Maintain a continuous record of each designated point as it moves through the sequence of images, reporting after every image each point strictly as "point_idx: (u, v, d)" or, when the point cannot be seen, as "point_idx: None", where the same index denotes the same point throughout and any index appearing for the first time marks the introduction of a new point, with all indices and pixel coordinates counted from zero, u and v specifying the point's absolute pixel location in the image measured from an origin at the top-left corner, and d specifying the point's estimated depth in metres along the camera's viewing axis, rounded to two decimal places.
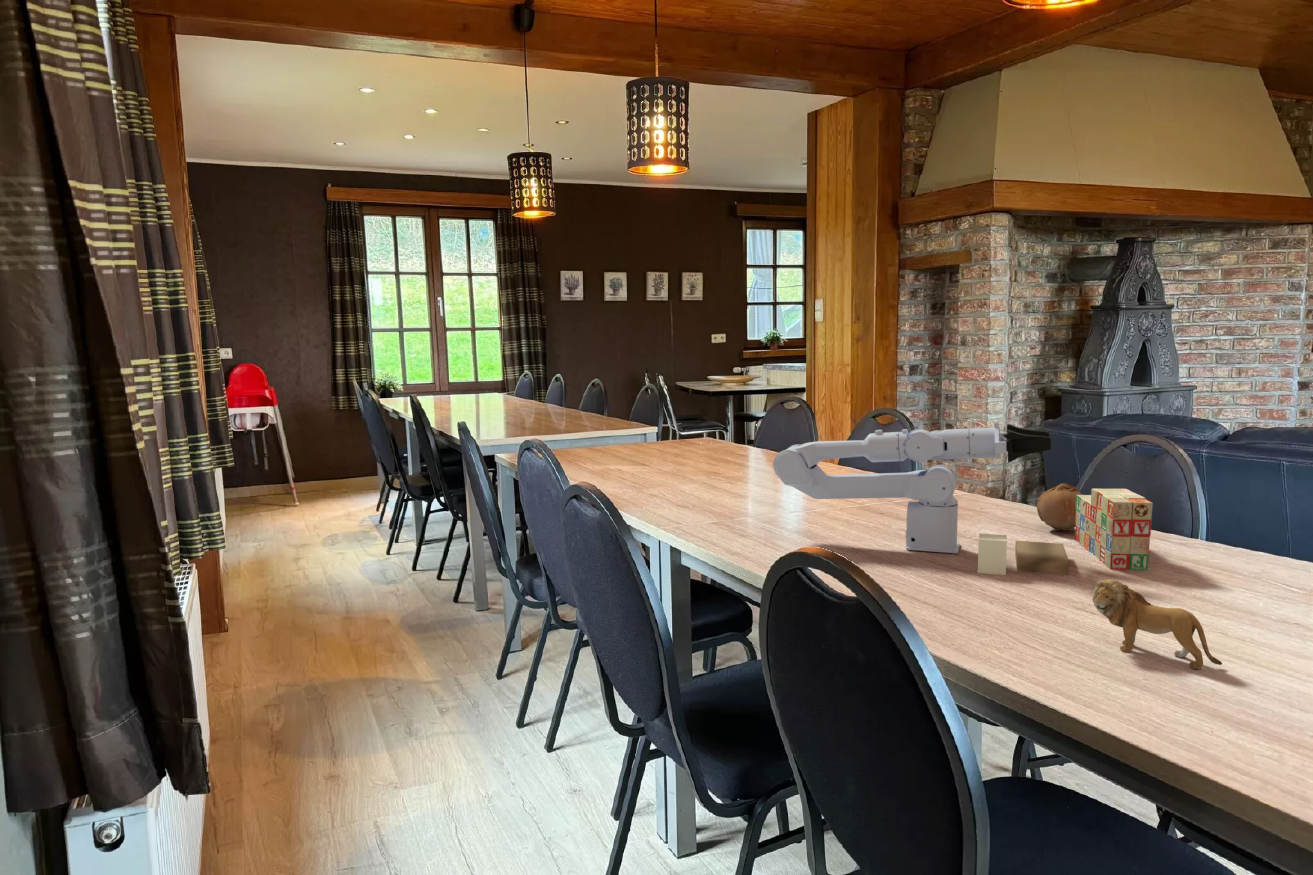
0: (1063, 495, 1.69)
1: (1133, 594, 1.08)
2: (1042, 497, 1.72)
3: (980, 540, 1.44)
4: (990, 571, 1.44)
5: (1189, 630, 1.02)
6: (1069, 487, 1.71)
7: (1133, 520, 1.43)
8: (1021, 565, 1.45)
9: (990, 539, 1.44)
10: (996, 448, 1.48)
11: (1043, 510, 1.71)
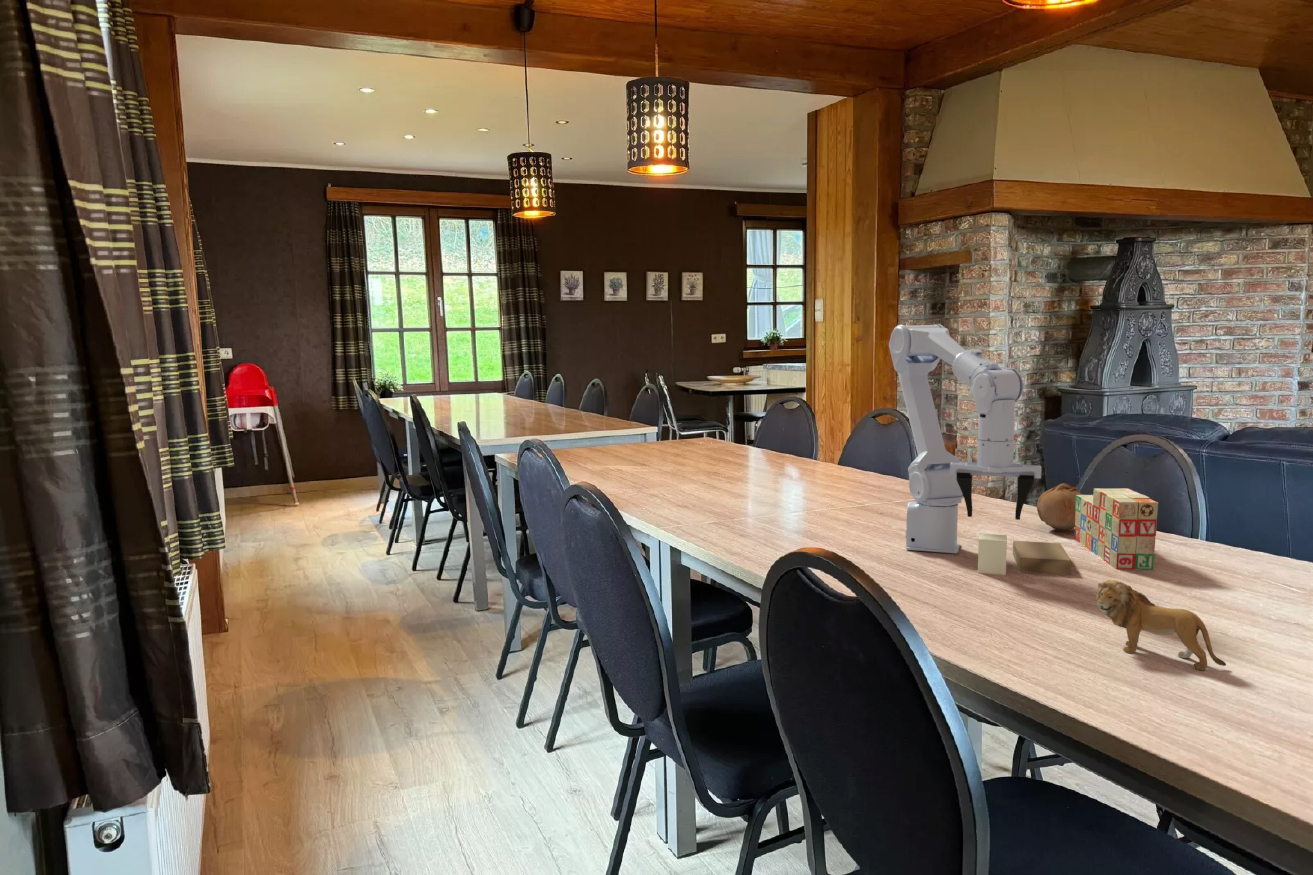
0: (1063, 495, 1.69)
1: (1137, 594, 1.08)
2: (1042, 497, 1.72)
3: (980, 540, 1.44)
4: (990, 571, 1.44)
5: (1193, 631, 1.02)
6: (1069, 487, 1.71)
7: (1139, 519, 1.43)
8: (1024, 566, 1.44)
9: (990, 539, 1.44)
10: None
11: (1043, 510, 1.71)
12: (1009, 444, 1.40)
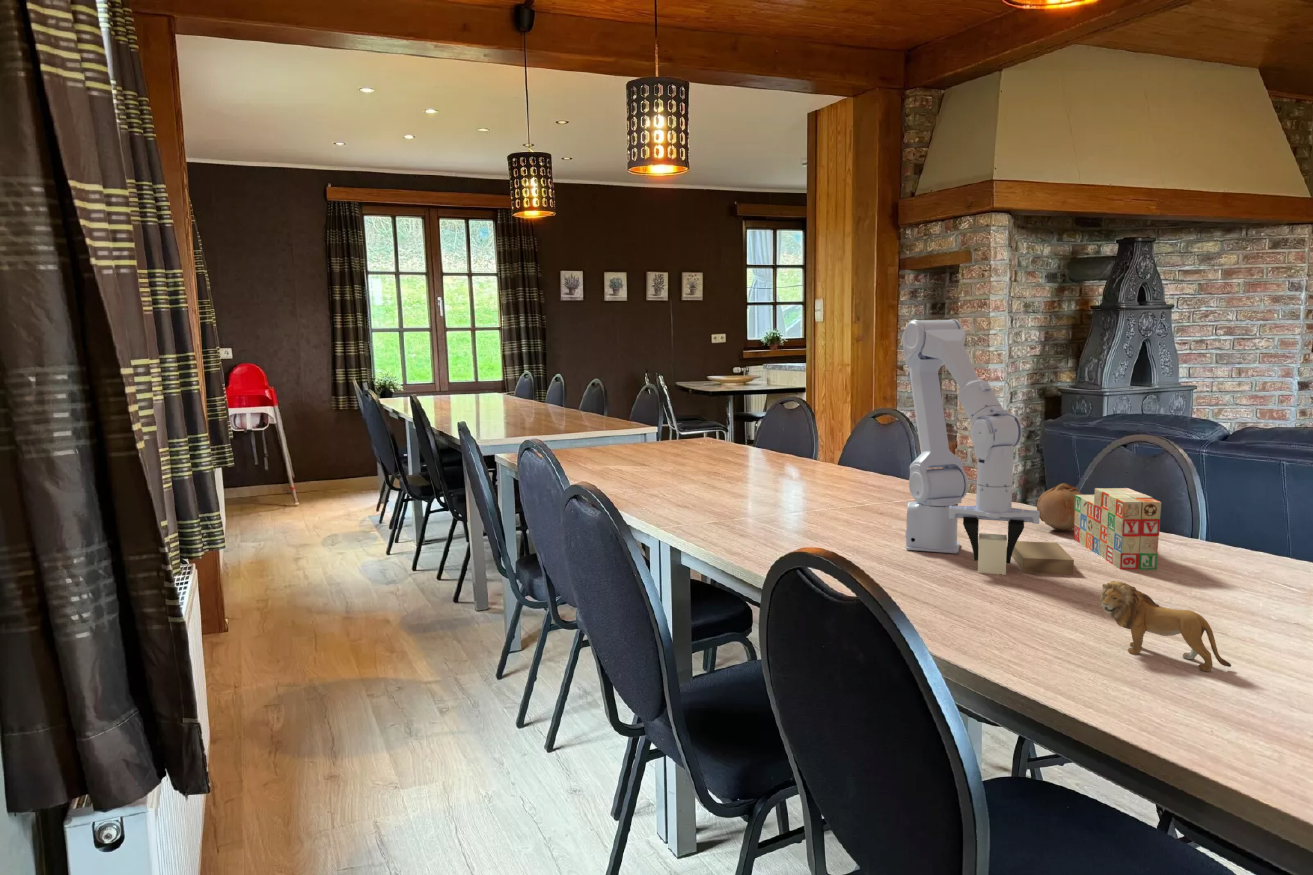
0: (1063, 495, 1.69)
1: (1142, 595, 1.07)
2: (1042, 497, 1.72)
3: (980, 540, 1.44)
4: (990, 571, 1.44)
5: (1198, 632, 1.02)
6: (1069, 487, 1.71)
7: (1143, 519, 1.43)
8: (1027, 566, 1.44)
9: (990, 539, 1.44)
10: (949, 508, 1.47)
11: (1043, 510, 1.71)
12: (1008, 489, 1.41)
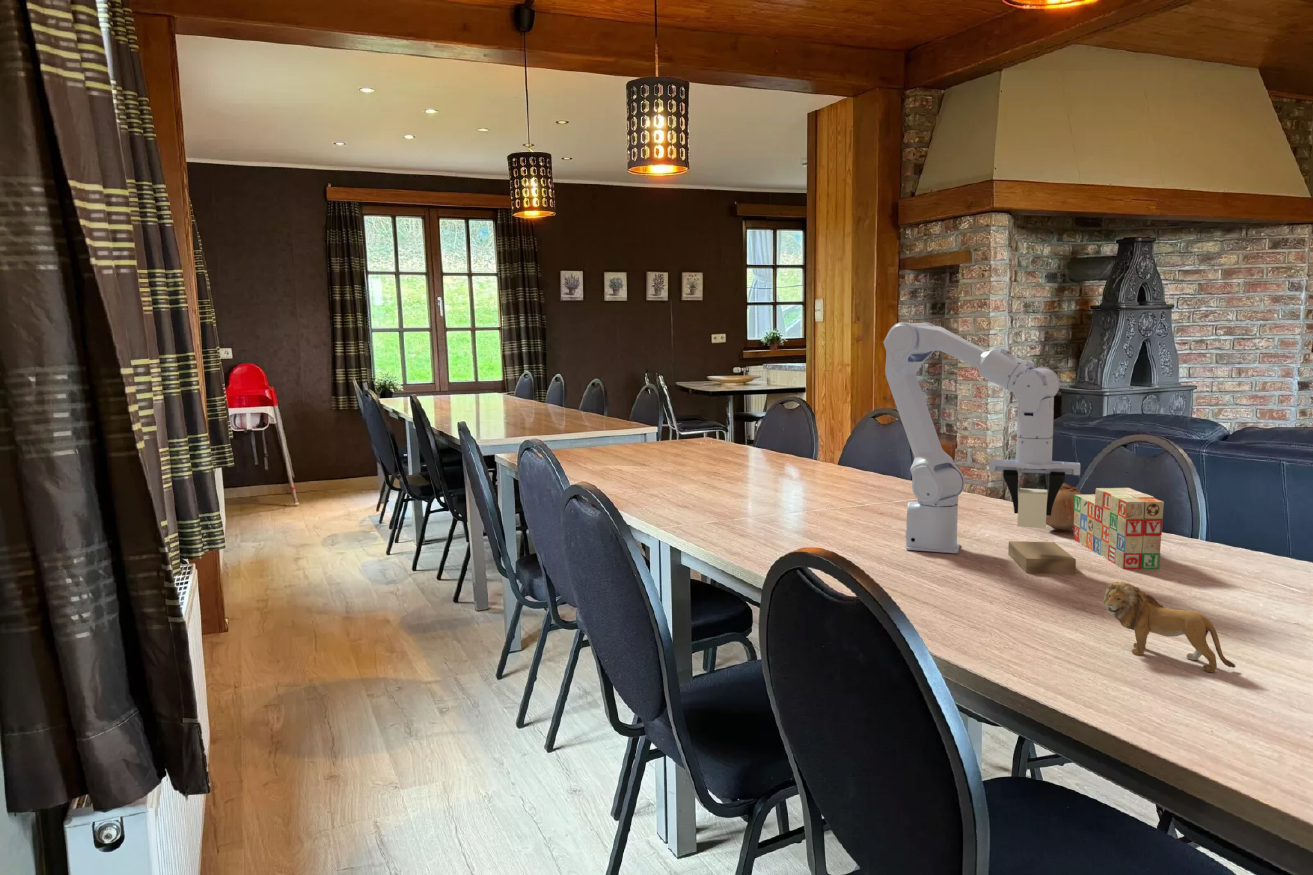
0: (1063, 495, 1.69)
1: (1145, 596, 1.07)
2: None
3: (1020, 493, 1.45)
4: (1030, 524, 1.45)
5: (1203, 633, 1.02)
6: (1069, 487, 1.71)
7: (1146, 519, 1.43)
8: (1030, 567, 1.44)
9: (1030, 492, 1.45)
10: (989, 461, 1.49)
11: None
12: (1048, 441, 1.43)
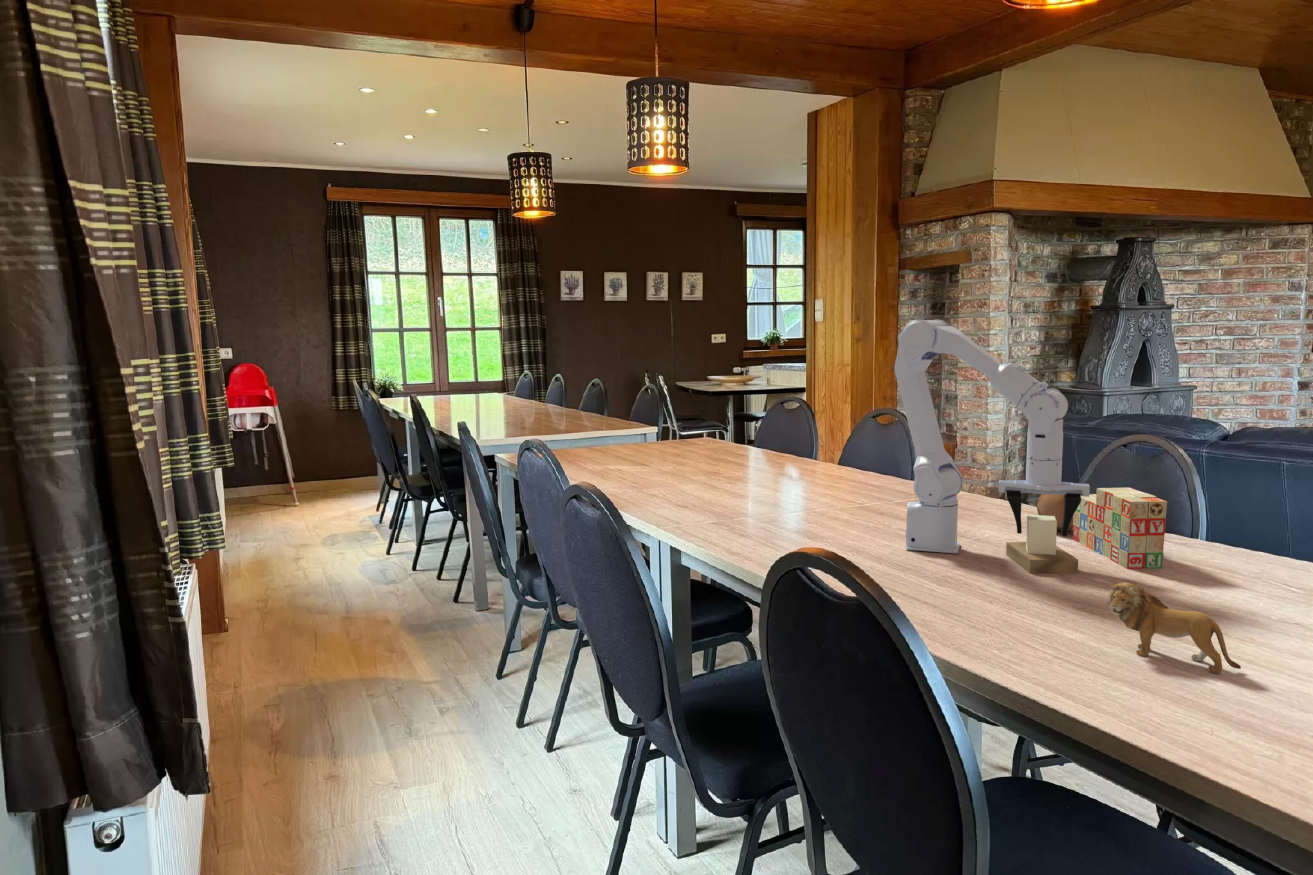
0: (1063, 495, 1.69)
1: (1150, 597, 1.07)
2: (1042, 497, 1.72)
3: (1030, 521, 1.46)
4: (1040, 551, 1.46)
5: (1208, 634, 1.01)
6: None
7: (1149, 519, 1.44)
8: (1033, 568, 1.43)
9: (1040, 520, 1.46)
10: (999, 482, 1.50)
11: (1043, 510, 1.71)
12: (1058, 463, 1.44)
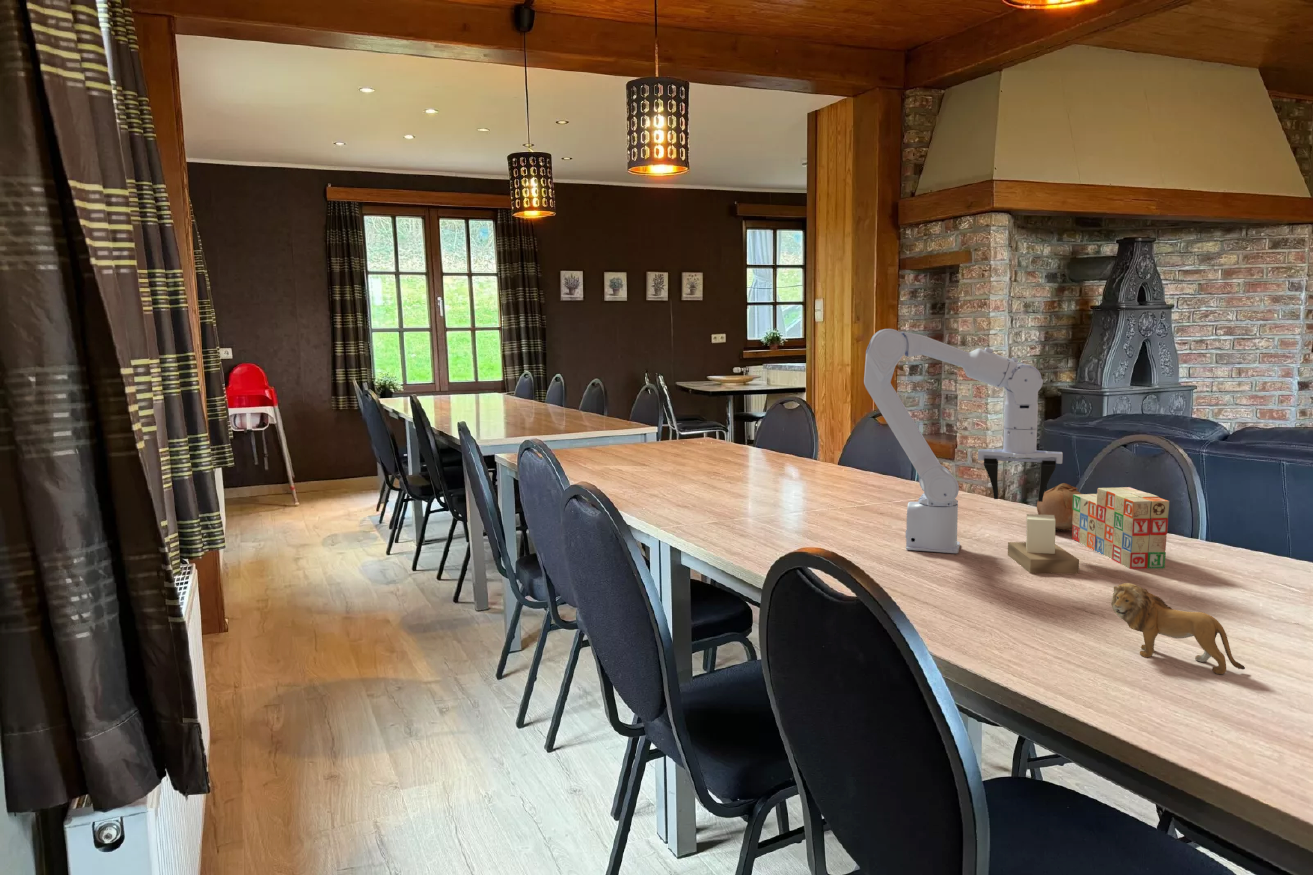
0: (1063, 495, 1.69)
1: (1153, 598, 1.06)
2: None
3: (1029, 520, 1.47)
4: (1039, 550, 1.47)
5: (1212, 634, 1.01)
6: (1069, 487, 1.71)
7: (1152, 518, 1.44)
8: (1034, 567, 1.43)
9: (1038, 519, 1.47)
10: None
11: (1043, 510, 1.71)
12: (1033, 432, 1.53)
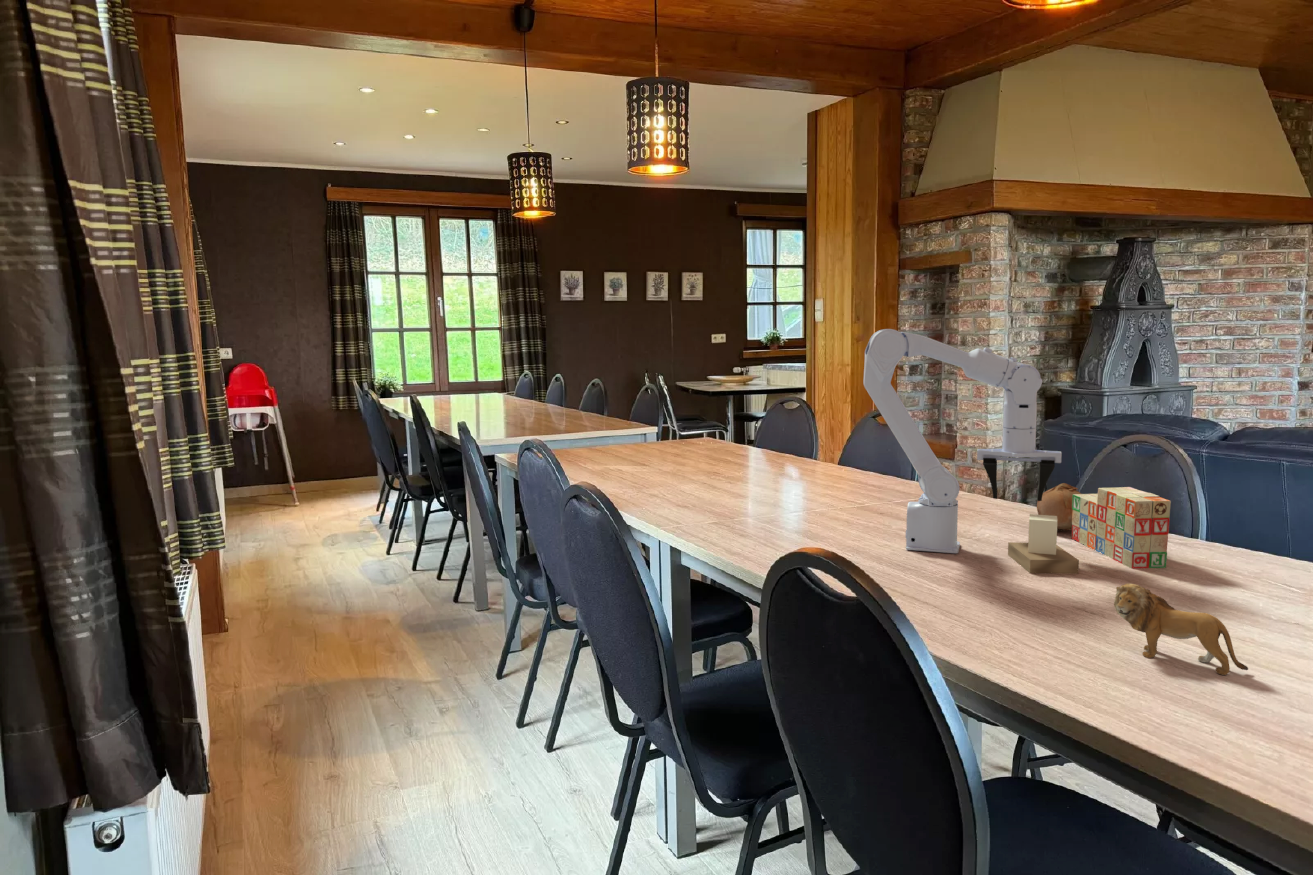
0: (1063, 495, 1.69)
1: (1156, 598, 1.06)
2: (1042, 497, 1.72)
3: (1031, 520, 1.47)
4: (1040, 550, 1.47)
5: (1215, 635, 1.01)
6: (1069, 487, 1.71)
7: (1153, 518, 1.44)
8: (1034, 568, 1.43)
9: (1041, 519, 1.47)
10: (977, 450, 1.59)
11: (1043, 510, 1.71)
12: (1032, 431, 1.54)
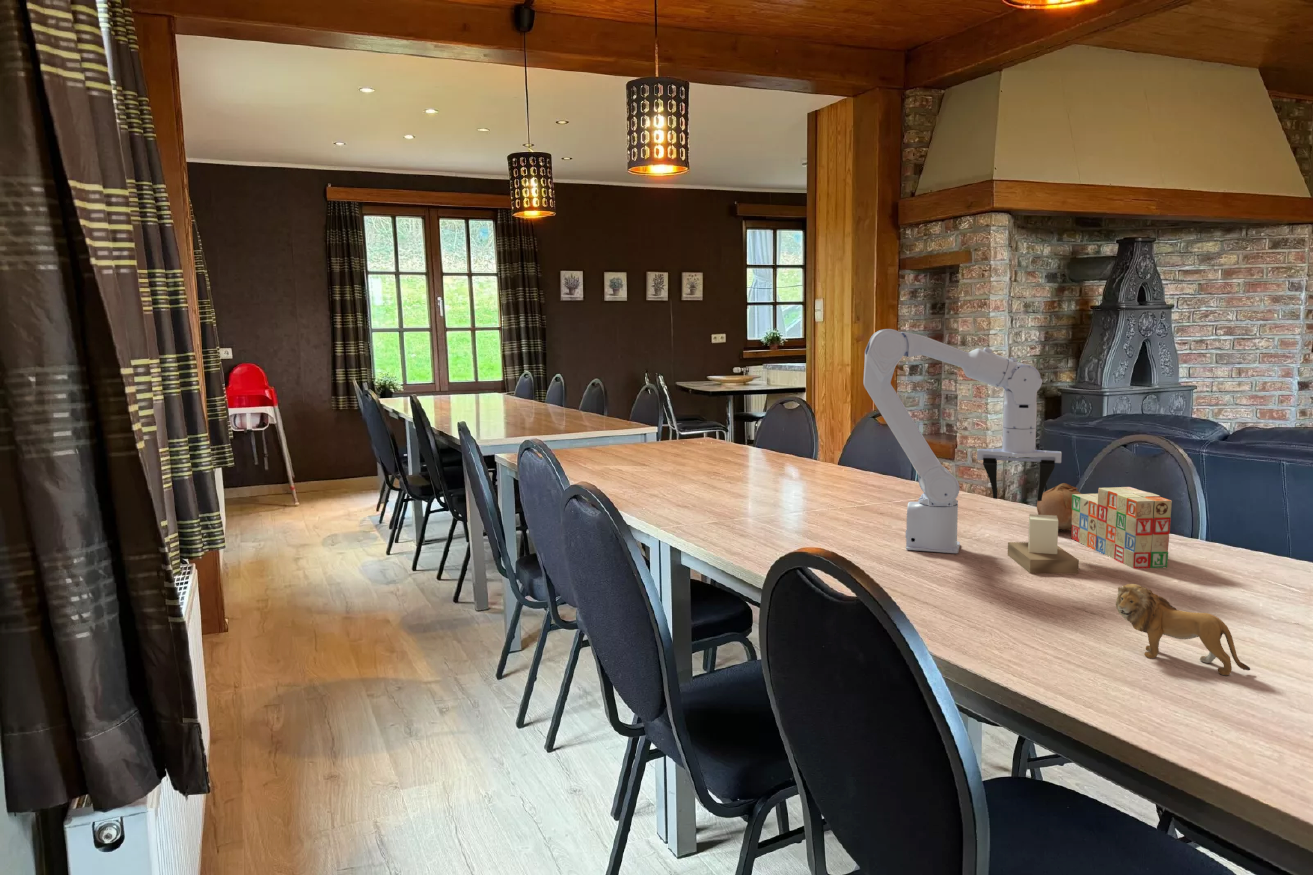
0: (1063, 495, 1.69)
1: (1158, 598, 1.06)
2: (1042, 497, 1.72)
3: (1031, 520, 1.47)
4: (1041, 550, 1.47)
5: (1217, 635, 1.01)
6: (1069, 487, 1.71)
7: (1155, 518, 1.44)
8: (1033, 568, 1.43)
9: (1041, 519, 1.47)
10: (977, 450, 1.59)
11: (1043, 510, 1.71)
12: (1032, 431, 1.54)
